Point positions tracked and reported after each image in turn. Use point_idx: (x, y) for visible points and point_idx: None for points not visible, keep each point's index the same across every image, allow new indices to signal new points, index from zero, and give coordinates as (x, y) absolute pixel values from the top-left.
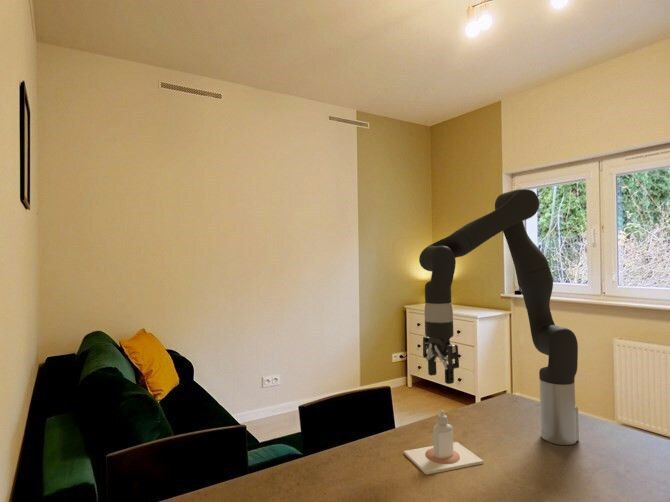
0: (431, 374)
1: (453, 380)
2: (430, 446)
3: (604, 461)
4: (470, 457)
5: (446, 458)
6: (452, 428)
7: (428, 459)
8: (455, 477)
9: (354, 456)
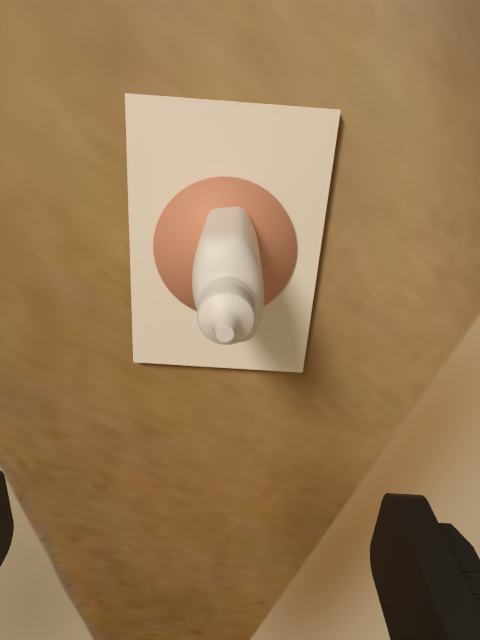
0: (8, 529)
1: (466, 543)
2: (130, 247)
3: None
4: (289, 145)
5: None
6: (245, 239)
7: None
8: (364, 289)
9: (102, 495)
